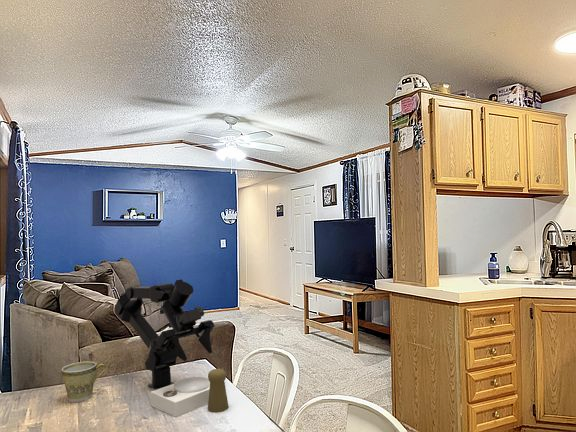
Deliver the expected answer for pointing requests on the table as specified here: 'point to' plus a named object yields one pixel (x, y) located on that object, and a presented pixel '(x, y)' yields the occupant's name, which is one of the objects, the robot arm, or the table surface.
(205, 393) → the kitchen scale
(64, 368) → the ceramic cup
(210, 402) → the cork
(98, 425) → the table surface
